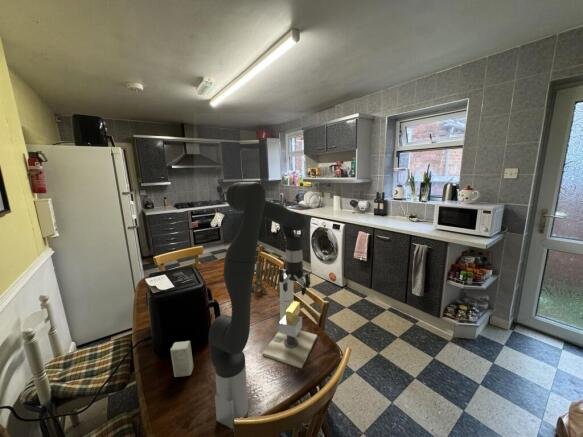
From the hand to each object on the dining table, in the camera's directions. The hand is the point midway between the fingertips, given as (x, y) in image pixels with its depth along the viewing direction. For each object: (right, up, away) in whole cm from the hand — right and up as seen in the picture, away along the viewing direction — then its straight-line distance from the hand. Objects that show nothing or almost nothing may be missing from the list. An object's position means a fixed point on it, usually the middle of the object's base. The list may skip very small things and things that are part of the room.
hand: (294, 292), depth 106 cm
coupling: (-1, -16, 0) cm, 16 cm away
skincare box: (-44, -27, -13) cm, 53 cm away
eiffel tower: (-23, -16, +50) cm, 57 cm away
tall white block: (-4, -21, +20) cm, 29 cm away
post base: (-2, -24, 0) cm, 24 cm away
